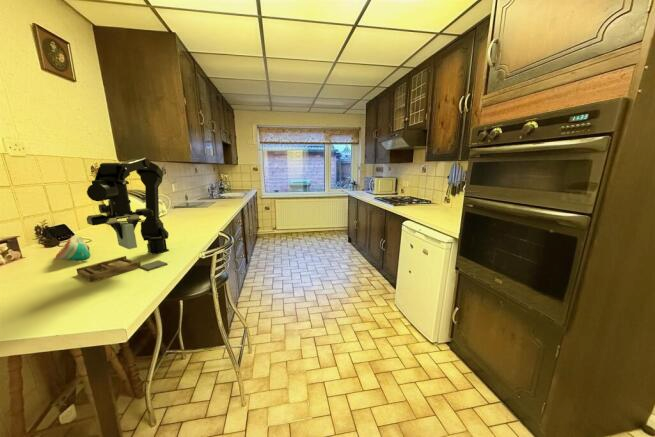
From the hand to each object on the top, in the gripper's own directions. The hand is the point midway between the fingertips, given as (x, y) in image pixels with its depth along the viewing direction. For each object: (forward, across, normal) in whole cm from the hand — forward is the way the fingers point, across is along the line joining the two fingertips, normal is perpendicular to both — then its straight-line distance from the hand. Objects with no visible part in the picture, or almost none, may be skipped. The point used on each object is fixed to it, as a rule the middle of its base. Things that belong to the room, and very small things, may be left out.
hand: (126, 238), depth 95 cm
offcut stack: (+13, +2, -5) cm, 14 cm away
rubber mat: (+13, -6, +4) cm, 15 cm away
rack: (+13, +5, -5) cm, 15 cm away
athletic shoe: (+13, +8, -38) cm, 41 cm away
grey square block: (+3, 0, 0) cm, 3 cm away
